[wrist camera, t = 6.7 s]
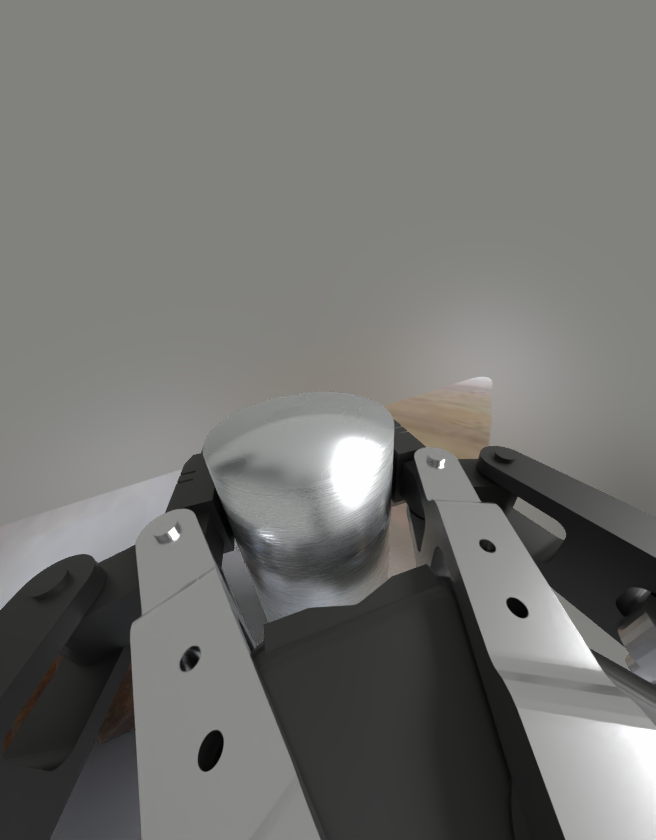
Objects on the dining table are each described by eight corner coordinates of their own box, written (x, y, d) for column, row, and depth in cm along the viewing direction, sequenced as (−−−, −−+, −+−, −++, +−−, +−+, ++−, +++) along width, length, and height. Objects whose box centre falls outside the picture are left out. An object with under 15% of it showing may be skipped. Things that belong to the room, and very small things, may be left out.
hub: (277, 711, 9) (174, 517, 4) (268, 557, 14) (219, 402, 10) (411, 649, 10) (440, 448, 5) (355, 530, 15) (347, 380, 11)
